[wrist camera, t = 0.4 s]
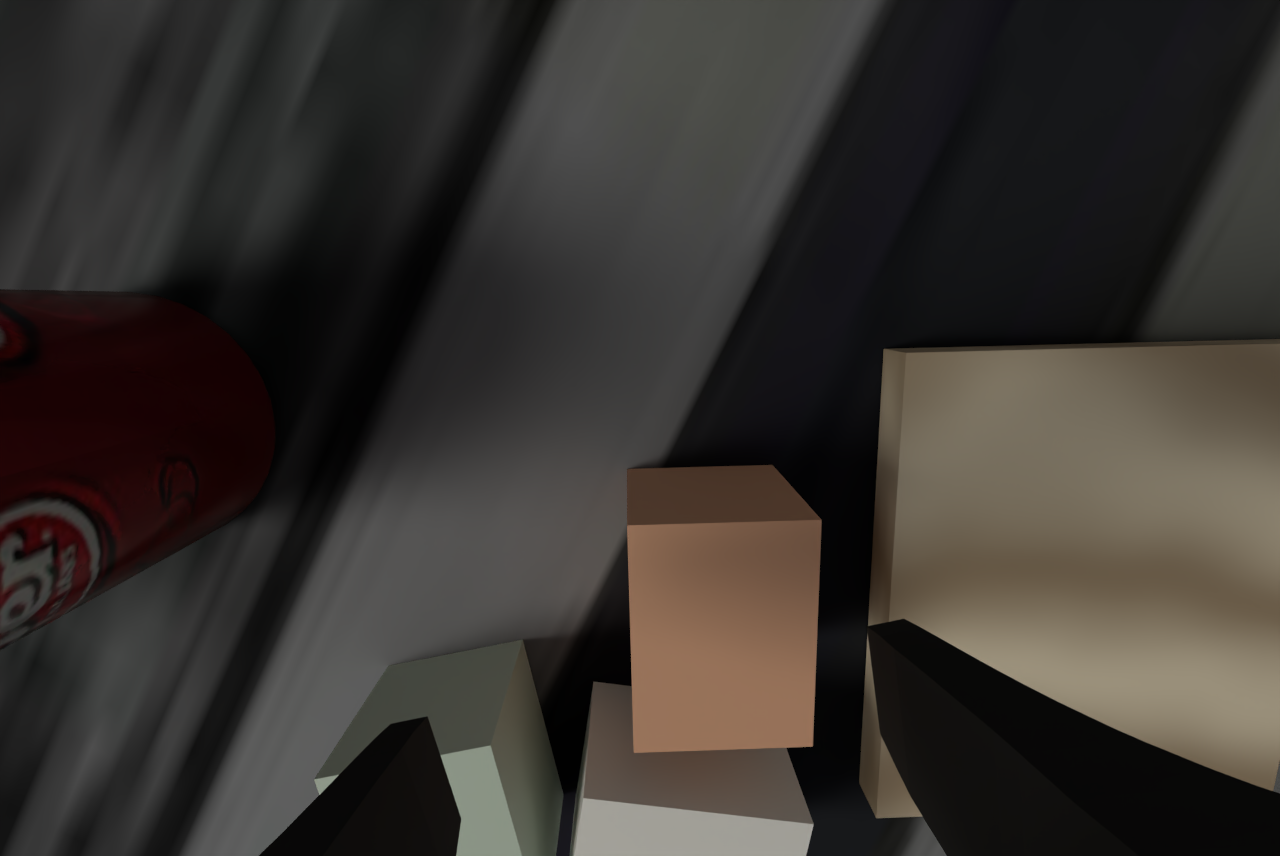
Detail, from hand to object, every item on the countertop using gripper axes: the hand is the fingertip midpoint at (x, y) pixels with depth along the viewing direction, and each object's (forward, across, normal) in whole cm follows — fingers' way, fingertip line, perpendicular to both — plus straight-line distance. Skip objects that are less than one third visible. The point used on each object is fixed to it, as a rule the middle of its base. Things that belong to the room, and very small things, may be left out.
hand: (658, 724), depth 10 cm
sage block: (+10, +7, +7) cm, 13 cm away
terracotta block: (+10, -2, +2) cm, 10 cm away
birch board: (+9, -13, +5) cm, 17 cm away
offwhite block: (+10, 0, +9) cm, 13 cm away
